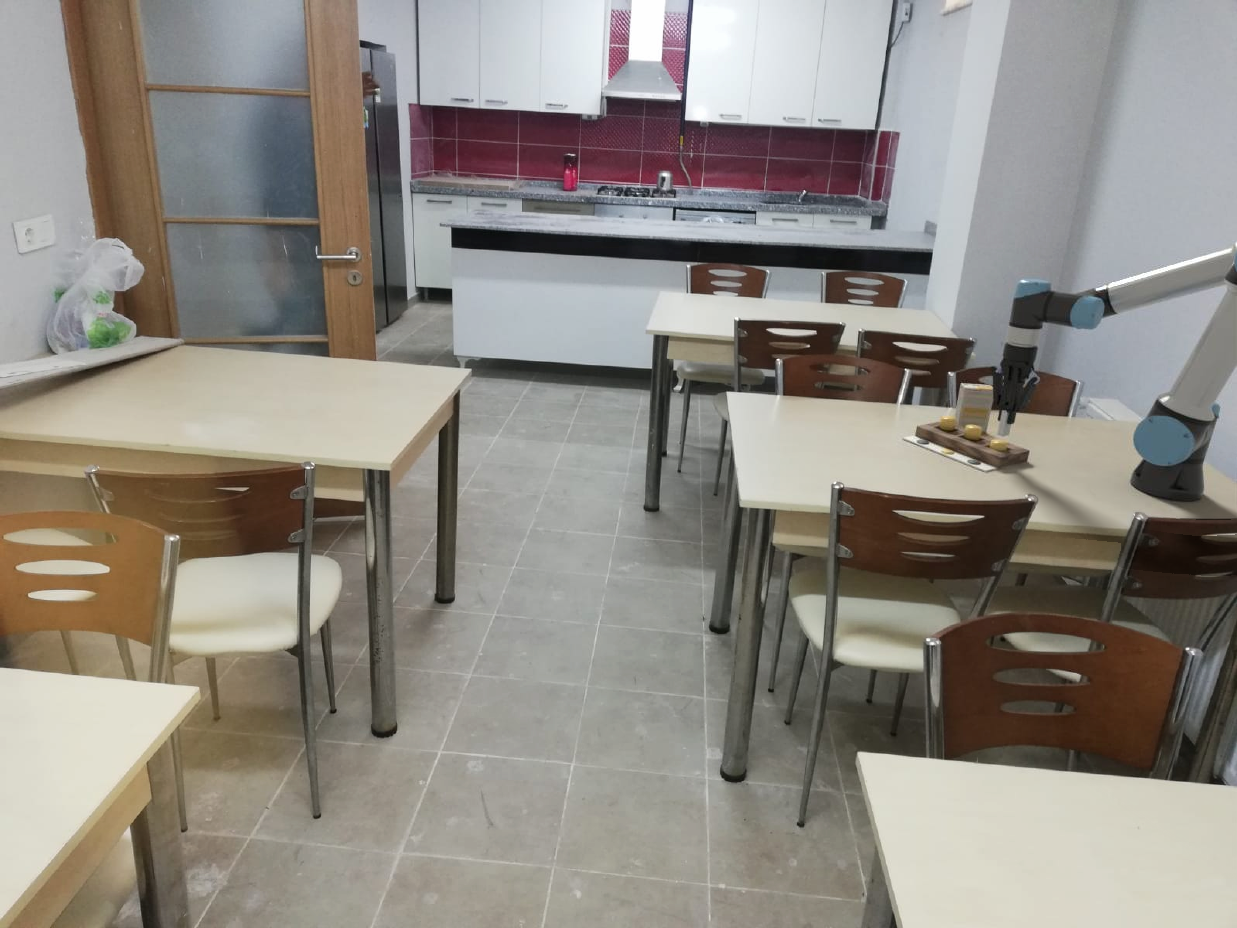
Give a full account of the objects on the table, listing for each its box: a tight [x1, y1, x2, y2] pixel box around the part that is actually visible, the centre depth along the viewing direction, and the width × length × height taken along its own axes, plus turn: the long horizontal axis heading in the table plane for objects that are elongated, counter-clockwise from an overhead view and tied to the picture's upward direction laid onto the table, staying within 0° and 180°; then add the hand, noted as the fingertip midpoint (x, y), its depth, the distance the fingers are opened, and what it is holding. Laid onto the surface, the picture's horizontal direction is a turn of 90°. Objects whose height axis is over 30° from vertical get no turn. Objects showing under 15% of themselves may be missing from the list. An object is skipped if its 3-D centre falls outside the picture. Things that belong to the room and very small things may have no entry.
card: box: [901, 435, 997, 473], centre depth 226 cm, size 26×4×1 cm, turn 32°
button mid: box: [964, 425, 982, 440], centre depth 229 cm, size 4×4×3 cm
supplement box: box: [953, 382, 993, 435], centre depth 243 cm, size 8×5×13 cm, turn 84°
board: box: [914, 421, 1030, 470], centre depth 230 cm, size 26×12×3 cm, turn 33°
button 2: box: [990, 438, 1009, 452], centre depth 223 cm, size 4×4×3 cm
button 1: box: [939, 415, 957, 431], centre depth 235 cm, size 4×4×3 cm
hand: (1003, 434), depth 222 cm, fingers closed
